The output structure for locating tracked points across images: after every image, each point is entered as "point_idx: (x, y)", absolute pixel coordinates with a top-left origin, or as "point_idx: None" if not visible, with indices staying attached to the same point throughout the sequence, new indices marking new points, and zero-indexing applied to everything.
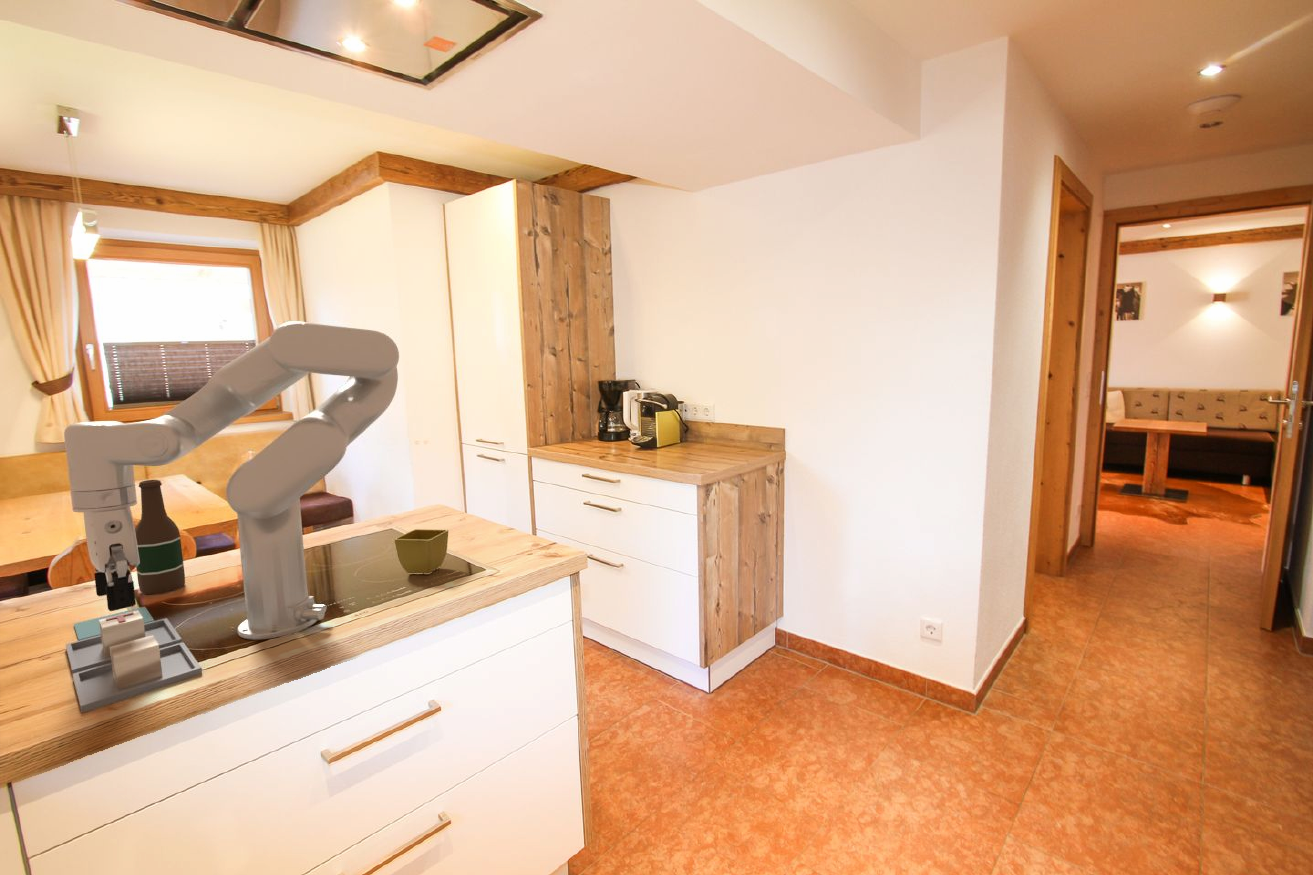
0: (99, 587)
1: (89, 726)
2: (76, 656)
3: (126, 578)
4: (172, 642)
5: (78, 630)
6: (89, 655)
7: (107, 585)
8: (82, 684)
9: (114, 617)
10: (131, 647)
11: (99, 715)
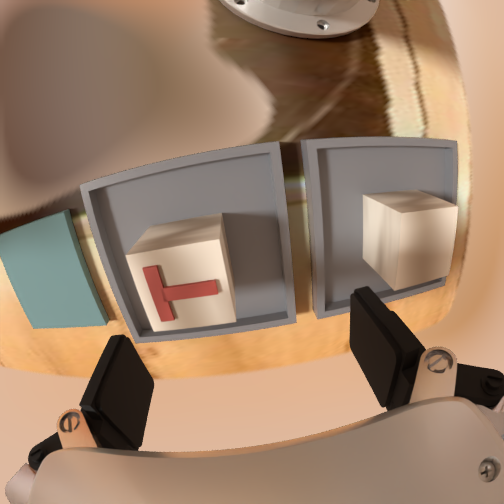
0: (148, 403)
1: (462, 266)
2: None
3: (474, 371)
4: (281, 161)
5: (62, 324)
6: None
7: (136, 389)
8: (347, 297)
9: (166, 306)
10: (433, 252)
11: None
